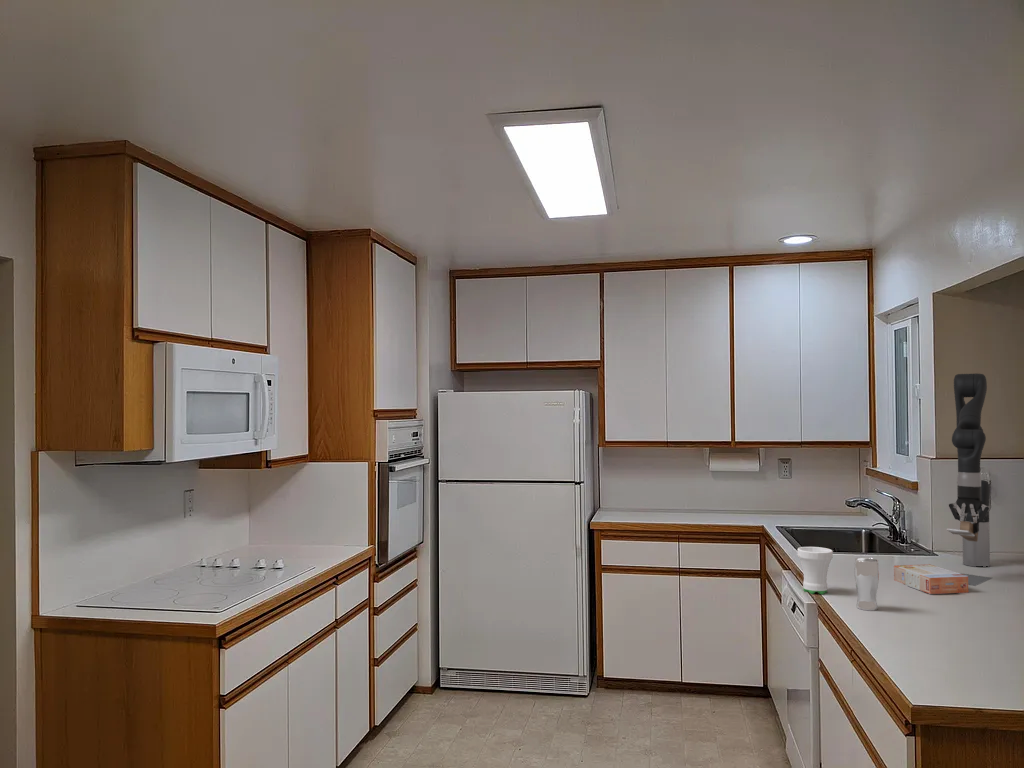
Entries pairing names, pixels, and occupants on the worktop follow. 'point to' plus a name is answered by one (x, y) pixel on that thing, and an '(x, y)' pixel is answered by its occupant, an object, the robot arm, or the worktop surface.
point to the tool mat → (976, 579)
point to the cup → (815, 568)
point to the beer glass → (866, 583)
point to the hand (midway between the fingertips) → (969, 532)
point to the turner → (965, 531)
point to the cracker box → (931, 579)
